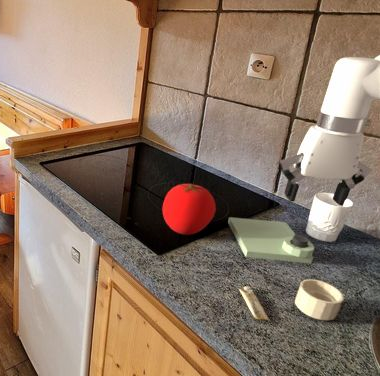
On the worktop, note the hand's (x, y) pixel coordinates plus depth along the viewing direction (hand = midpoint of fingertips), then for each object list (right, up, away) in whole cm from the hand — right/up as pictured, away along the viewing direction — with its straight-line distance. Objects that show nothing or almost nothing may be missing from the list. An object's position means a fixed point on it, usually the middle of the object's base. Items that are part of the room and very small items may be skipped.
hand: (313, 200), depth 87 cm
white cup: (+12, -9, +15) cm, 21 cm away
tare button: (0, -10, +5) cm, 11 cm away
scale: (-4, -10, +12) cm, 16 cm away
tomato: (-22, -8, +16) cm, 29 cm away
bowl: (-6, -20, -10) cm, 24 cm away
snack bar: (-18, -20, -9) cm, 28 cm away
